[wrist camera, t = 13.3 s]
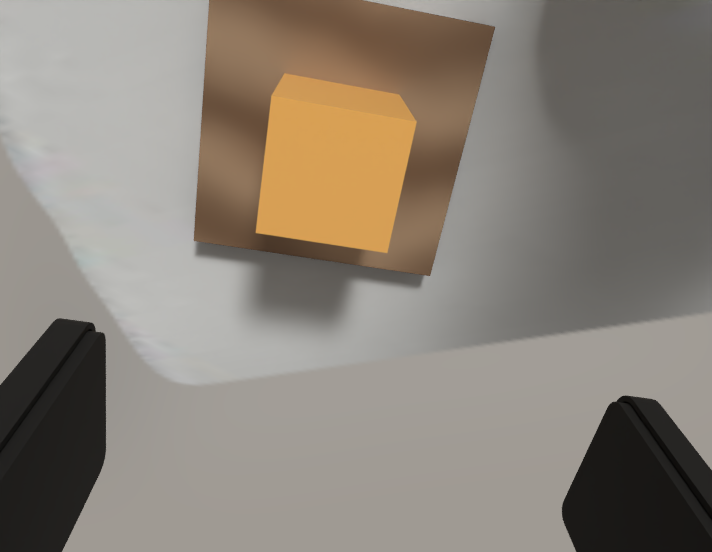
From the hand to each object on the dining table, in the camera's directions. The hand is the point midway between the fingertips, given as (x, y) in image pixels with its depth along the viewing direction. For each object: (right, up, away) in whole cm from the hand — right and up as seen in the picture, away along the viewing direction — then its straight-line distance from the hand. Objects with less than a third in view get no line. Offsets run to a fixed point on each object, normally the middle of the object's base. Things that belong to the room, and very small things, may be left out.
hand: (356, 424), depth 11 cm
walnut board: (-1, +11, +22) cm, 24 cm away
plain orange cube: (-1, +10, +21) cm, 23 cm away
